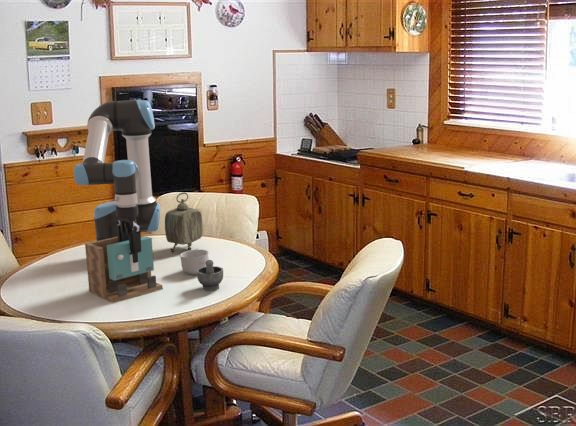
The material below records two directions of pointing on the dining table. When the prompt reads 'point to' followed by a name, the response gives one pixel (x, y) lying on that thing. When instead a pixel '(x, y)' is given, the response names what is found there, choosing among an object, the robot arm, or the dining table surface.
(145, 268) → the door
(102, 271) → the cabinet
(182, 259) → the teacup
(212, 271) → the mortar and pestle
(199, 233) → the tabletop clock
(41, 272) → the dining table surface
